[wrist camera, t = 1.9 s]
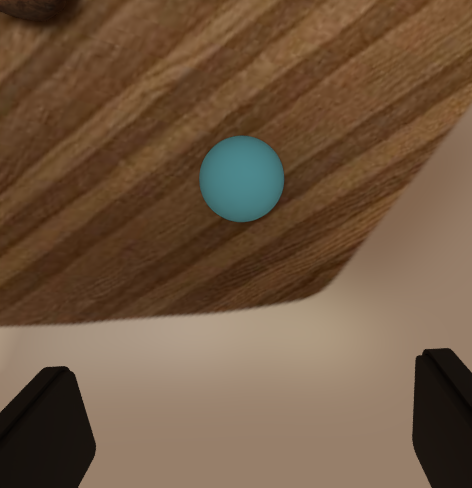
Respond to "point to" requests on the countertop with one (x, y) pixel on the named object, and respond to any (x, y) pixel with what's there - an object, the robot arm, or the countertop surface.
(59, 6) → the brown rounded lump
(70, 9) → the countertop surface
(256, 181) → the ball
